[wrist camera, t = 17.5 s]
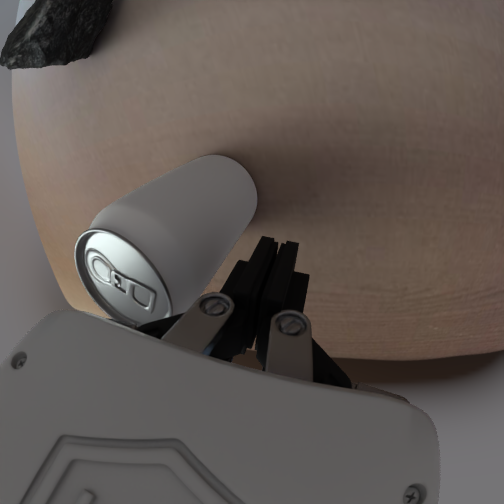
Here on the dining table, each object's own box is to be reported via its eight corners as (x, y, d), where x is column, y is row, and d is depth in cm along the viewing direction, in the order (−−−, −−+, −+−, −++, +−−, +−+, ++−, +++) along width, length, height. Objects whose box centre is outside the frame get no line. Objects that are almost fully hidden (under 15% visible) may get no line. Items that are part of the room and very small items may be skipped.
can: (195, 140, 19) (66, 194, 9) (273, 176, 19) (198, 271, 9) (173, 210, 22) (73, 295, 13) (240, 245, 22) (168, 359, 12)
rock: (111, 64, 17) (14, 73, 8) (67, 63, 17) (-15, 76, 9) (137, -12, 12) (47, -33, 4) (87, -4, 13) (7, -9, 4)
